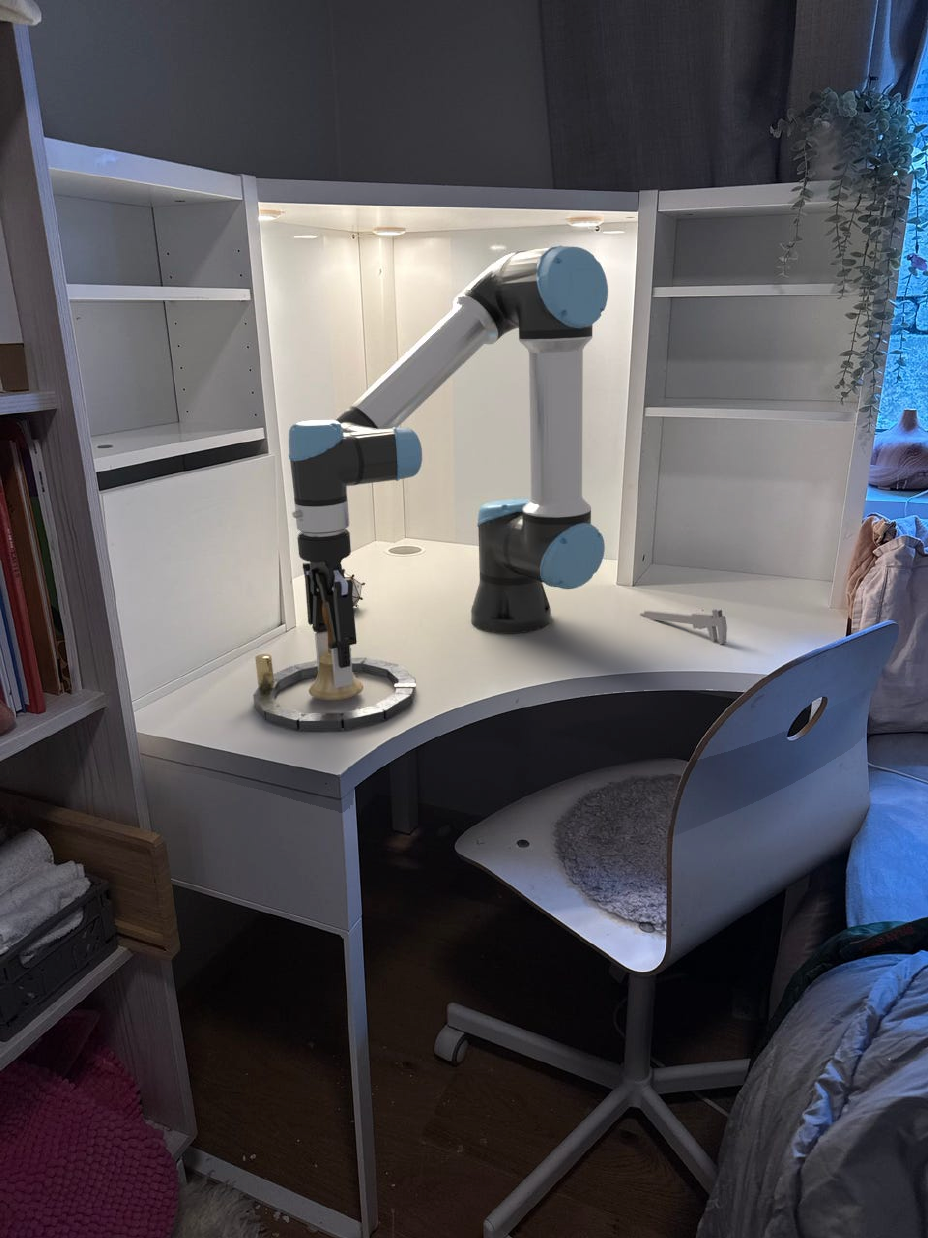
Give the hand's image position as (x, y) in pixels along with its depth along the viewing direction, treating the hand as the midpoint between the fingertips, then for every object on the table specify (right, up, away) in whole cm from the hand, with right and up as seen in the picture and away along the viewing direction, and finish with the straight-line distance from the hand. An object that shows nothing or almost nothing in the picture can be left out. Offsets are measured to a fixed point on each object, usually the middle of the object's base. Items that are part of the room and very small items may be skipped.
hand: (335, 678), depth 136 cm
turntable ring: (0, -3, +1) cm, 3 cm away
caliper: (+59, +7, +26) cm, 65 cm away
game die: (-4, +10, +42) cm, 43 cm away
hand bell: (0, -2, +1) cm, 2 cm away
